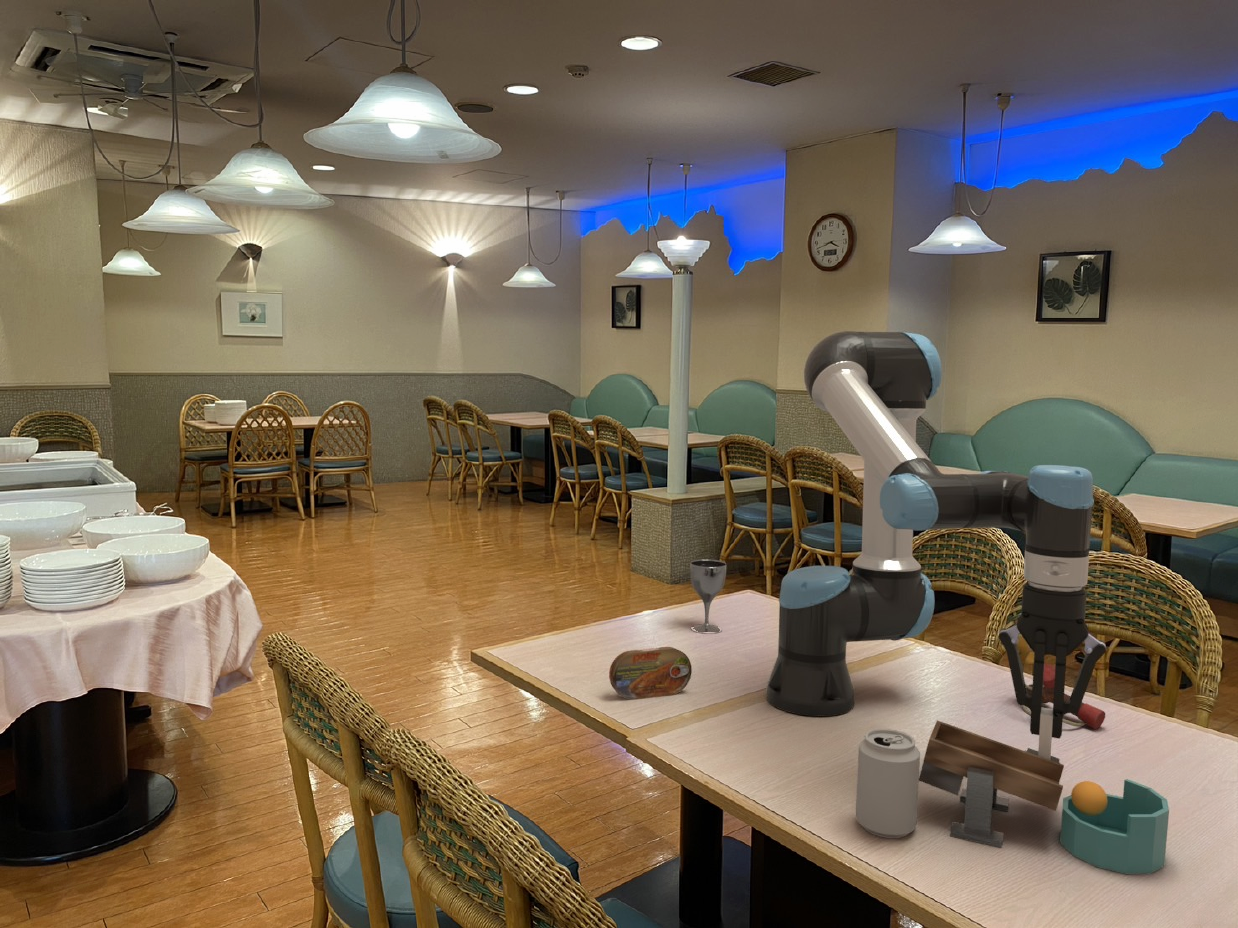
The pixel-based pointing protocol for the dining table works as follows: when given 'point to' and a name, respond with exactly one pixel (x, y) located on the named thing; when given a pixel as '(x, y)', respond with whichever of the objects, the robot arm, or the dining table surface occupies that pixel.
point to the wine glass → (707, 586)
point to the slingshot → (1086, 711)
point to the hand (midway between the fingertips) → (1044, 758)
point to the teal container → (1120, 831)
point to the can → (887, 783)
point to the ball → (1089, 798)
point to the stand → (980, 809)
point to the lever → (990, 765)
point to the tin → (650, 673)
